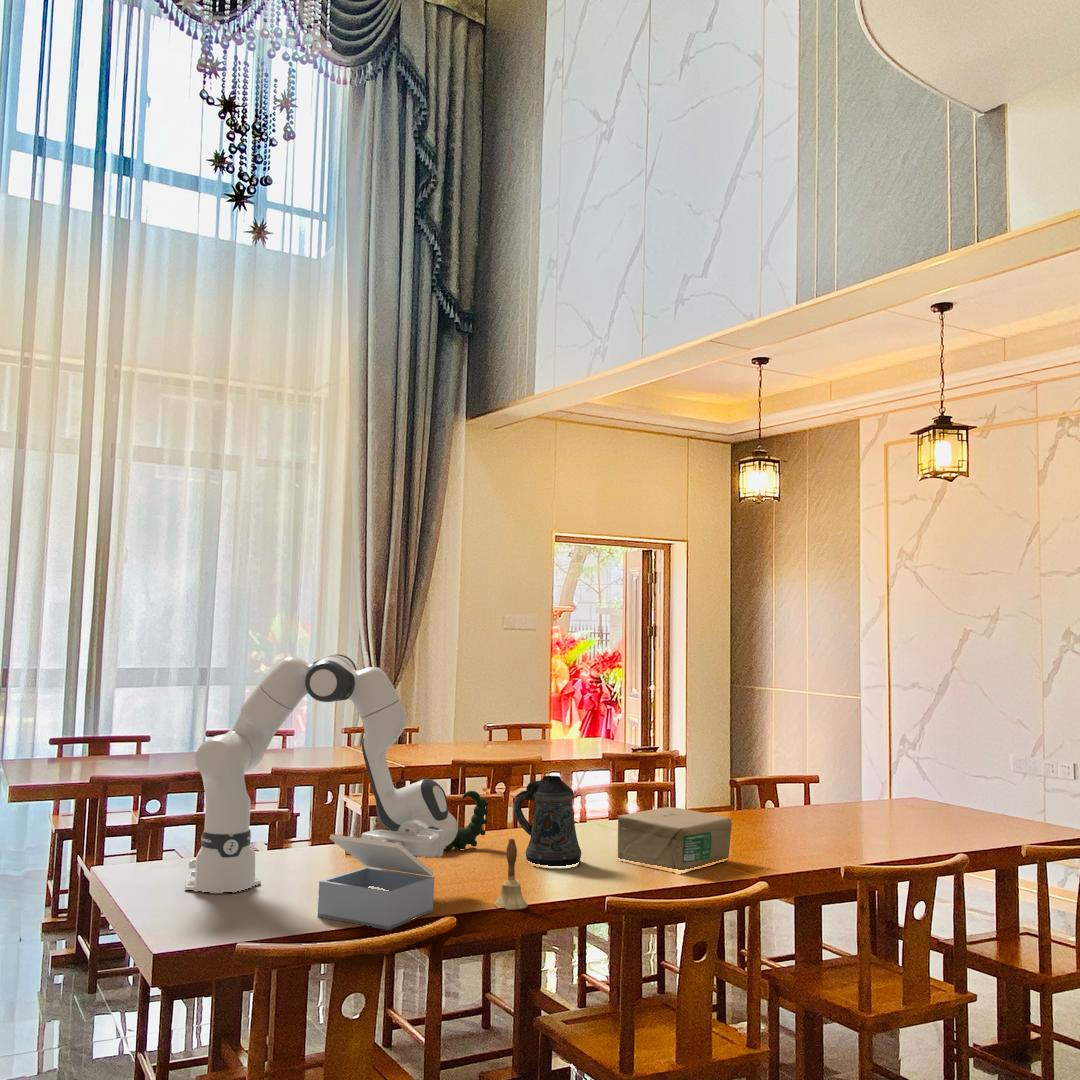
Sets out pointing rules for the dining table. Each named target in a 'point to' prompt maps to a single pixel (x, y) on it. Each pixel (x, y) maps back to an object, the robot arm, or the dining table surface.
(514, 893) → the hand bell
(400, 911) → the box
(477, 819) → the toy figurine
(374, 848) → the lid
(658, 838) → the paper package
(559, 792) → the beer stein
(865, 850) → the dining table surface
